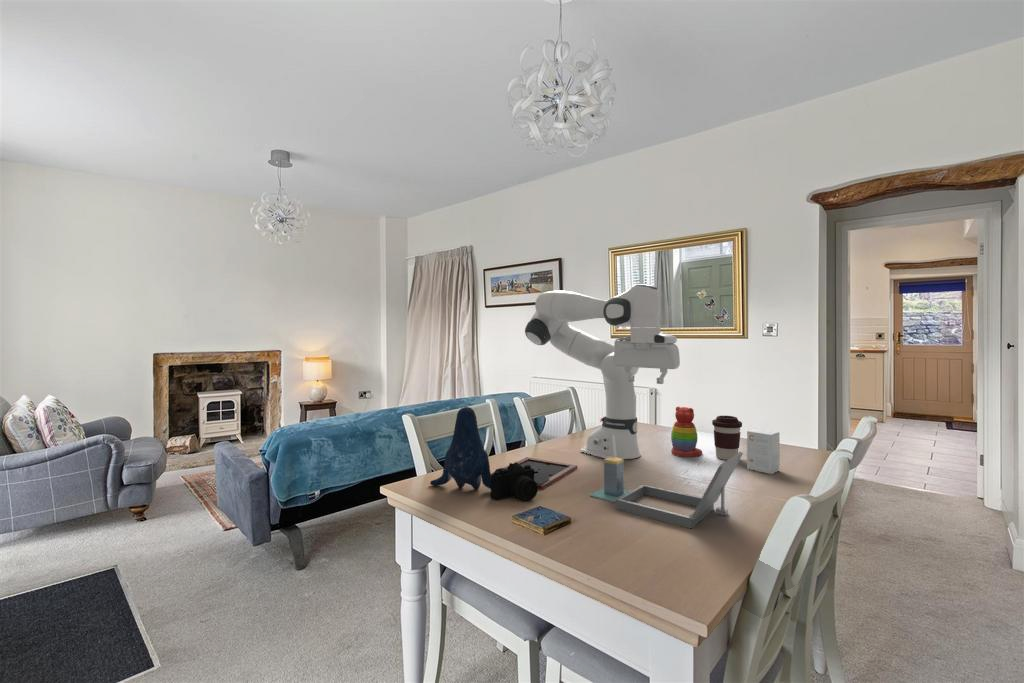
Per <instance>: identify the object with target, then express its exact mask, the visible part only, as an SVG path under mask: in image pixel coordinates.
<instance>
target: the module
mask: <svg viewBox="0 0 1024 683" xmlns="http://www.w3.org/2000/svg"><path fill="white" fill-rule="evenodd" d="M603 459H604V460H603V472H604V473H603V479H604V480H603V481H604V482H603V488H604V494H606V495H610V496H614V497H618V496H620V495H622V494H623V493H624V490H625V488H624V478H625V477H624V476H625V475H624V472H625V470H624V468H625V467H624V464H625V462H624V460H625V459H622V458H616V457H609V458H606V459H605V458H603Z"/></svg>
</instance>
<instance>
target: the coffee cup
mask: <svg viewBox="0 0 1024 683" xmlns="http://www.w3.org/2000/svg"><path fill="white" fill-rule="evenodd" d="M711 424H712V426H713V439H714V447H715V457H716V458H718V459H719V460H723V461H727V460H728V459H730V458H731V457H733V456H734V455H736V454H737V453H739V448H740V444H741V442H740V440H741V428H742V427H743V422H742V421H740V420H739V419H738V417H737V416H734V415H733V416H732V415H717V416H716V418H715V419H713V420H712V421H711Z"/></svg>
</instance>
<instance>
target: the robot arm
mask: <svg viewBox="0 0 1024 683" xmlns="http://www.w3.org/2000/svg"><path fill="white" fill-rule="evenodd" d="M534 306H535V313H533V315H532V317H531V318H530V319H529V321H528V322H527V324H526V326H525V328H524V334H525V337H526V338H527V339H528V340H529V341H530V342H531V343H533V344H534V345H537V346H545V345H546V344H547V343H550V344H551V346H553V348H556V349H557V350H558V351H560V352H561V353H563V354H565V355H566V356H568V357H571V358H572V359H574V360H575V361H578V362H580V363H582V364H584V365H586V366H589V367H592V368H595V369H598V370H600V371H601V374H602V379H603V386H604V391H605V392H604V393H605V416H603V417H602V418H600V419H599V422H600V423H601V422H602V423H601V426H599V427H598V428H597V429H595V430H593V432H591V433H590V434H589V435H588V437H587V440H586V445H584V446H582V447H581V448H580V453H583V452H584V453H583V454H586V453H587V455H590V454H591V456H594V457H598V458H603V459H606V458H609V457H616V458H622V459H624V460H631V459H636V458H639V457H641V451H640V448H639V442H638V434H637V433H638V428H639V427H638V417H637V395H636V392H635V384H634V382H635V375H637V373H638V371H639V368H641V369H643V368H644V369H645V368H646V369H659V372H660V375H659V377H656V384H657V385H662V384H664V382H665V381H664V378H665V377H666V375H667V373H668V370H676V369H678V368H679V366H680V365H681V364H680V362H681V361H680V360H681V359H680V351H679V350H680V349H679V347H678V346H677V345H676V343H677V340H678V339H677V338H678V337H677V336H675V335H672V334H669V333H666V332H664V331H661V324H660V317H661V296H660V291H659V288H657V287H656V286H654V285H652V284H643V283H635V284H633V285H631V287H630V288H629V289H628V290H626V291H624V292H622V293H621V294H619V295H616V296H613V297H609V299H601V298H596V297H593V296H589V295H585V294H582V293H578V292H574V291H569V290H550V291H545V292H542V293H541V294H539V295H538V296H537V298H536V300H535V304H534ZM593 319H604V320H605V322H606V323H607V324H609V325H610V326H613V327H624V328H625V327H629V328H630V329H629V331H630V334H629V336H626V337H623V336H619V337H618V338H617V339H615V341H614V344H613V343H610V342H607V341H605V340H602V339H599V338H597V337H596V336H593V335H592V334H589V333H588V332H585V331H583V330H581V329H580V328H579V329H578V328H576V327H574V326H571V324H570V323H571V322H580V321H586V320H593Z"/></svg>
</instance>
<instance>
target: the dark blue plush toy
mask: <svg viewBox="0 0 1024 683" xmlns="http://www.w3.org/2000/svg"><path fill="white" fill-rule="evenodd" d="M477 420H478V419H477V416H476V412H475V410H474V409H473V408H472V407H469V406H464V407H461V408H460V409H459V410H458V411H457V413H456V419H455V423H454V424H455V425H454V430H453V436H452V438H451V443H450V446H449V448H448V449H447V451H446V452H445V456H444V462H443V470H442V474H441V476H440V477H438V478H436V479H433V480H431V481H430V483H429V485H431V486H435V487H436V486H443V485H446V484H448V483H449V482H450V481H451V480H452V479H453V480H454V482H455V483H456V486H457V488H458V489H462V488H463V487H464V486H465V485H470V486H471V487H472V488H473V489H474V490H475V491H477V490H479V489H480V486H481V484H482V485H484V487H486V488H488V489H489V490H491V469H490V468H491V467H490V459H489V455H488V453H487V451H486V450H485V447H484V444H483V441H482V439H481V436H480V433H479V427H478V421H477Z"/></svg>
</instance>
